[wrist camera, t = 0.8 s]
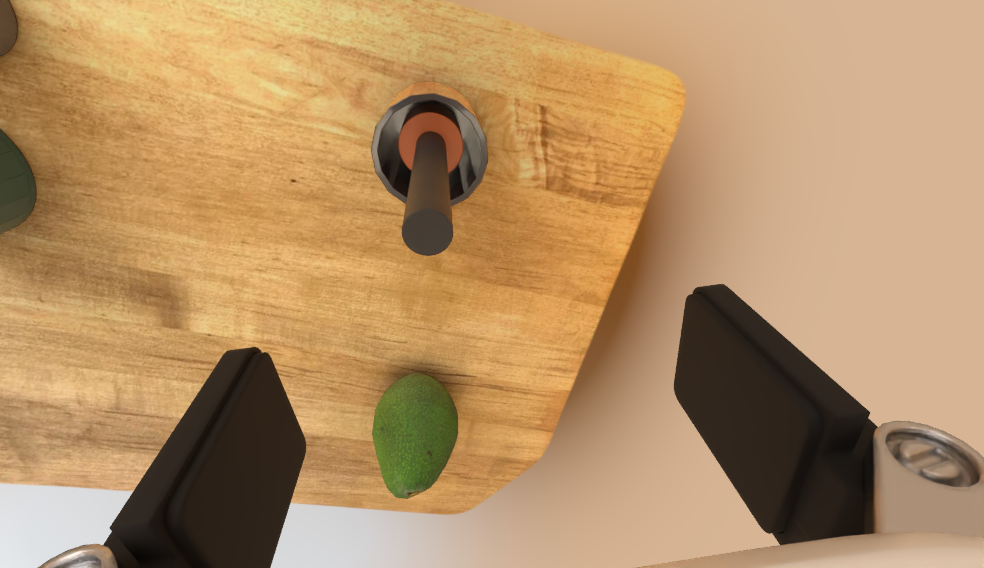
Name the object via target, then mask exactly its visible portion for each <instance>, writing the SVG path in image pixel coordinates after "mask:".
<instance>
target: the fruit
mask: <svg viewBox="0 0 984 568" xmlns="http://www.w3.org/2000/svg"><path fill="white" fill-rule="evenodd" d="M372 435H373V440H374V445H375V449H376V454H377V458H378V461H379V465H380V469H381V473H382V476H383V479H384V482H385V484H386V486H387V489H388V490H389V491H390V492H391V493H392V494H393V495H394V496H395V497H397V498H405V499H408V498H410V497H413V496H415V495H417V494H419V493H421V492H423V491H425V490H427V489H429V488H430V487H431V486H432V485H433V484H434V483H435V482H436V480H437V479H438V477H439V475H440V474H441V472H442V471H443V469H444V468H445V466H446V464H447V462H448V460H449V458H450V456H451V453H452V451H453V448H454V446H455V443H456V440H457V435H458V415H457V409H456V407H455V404H454V402H453V400H452V398H451V396H450V394H449V393H448V391H447V390H446V389H445V387H444V386H443V385H442V384H441V383H440V382H439V381H437V380H436V379H434V378H432V377H430V376H428V375H425V374H421V373H413V374H408V375H406V376H404V377H402V378H400V379H398V380H397V381H396V382H395V383H394V384H392V385H391V386H390V387H389V388H388V389H387V390H386V391H385V393H384V394H383V396H382V398H381V400H380V402H379V403H378V405H377V407H376V409H375V416H374V424H373V431H372Z"/></svg>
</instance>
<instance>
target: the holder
mask: <svg viewBox="0 0 984 568" xmlns="http://www.w3.org/2000/svg"><path fill="white" fill-rule="evenodd" d="M428 103H432V104H438V105H441V106H443V107H445V108H447V109H448V110H449V111H450V112H451V113H452V114H453V115H454V116H455V118H456V119H457V121H458V123H459V126H460V130H461V134H462V138H463V154H462V157H461V160H460V162H459V164H458V165H457V166H456V167H455V169H454V170H452V171H451V172H450V173H448V177H449V189H450V201H451V207H452V206H454V205H456V204H457V203H459V202H461V201H463V200H465V199H467V198H468V197H469V196H470V195H471V194H472V192H473V191H474V190H475V189H476V188H477V186H478V185H479V184H480V183H481V181H482V178H483V175H484V172H485V169H486V166H487V163H488V152H487V140H486V136H485V134H484V132H483V129H482V127H481V125H480V123H479V121H478V119H477V117H476V115H475V113H474V111H473V109H472V107H471V105H470V103H469V101H468V100H467V99H465V98H464V97H463V96H462V95H461V94H460V93H459V92H458V91H456V90H455V89H453V88H452V87H450V86H447V85H445V84H441V83H437V82H421V83H415V84H413V85H411V86H409V87H407V88H405V89H404V90H402V91H401V92H399V93H397V94H396V96H395V97H394V99H393V100H392V101H391V103H390V104H389V106H388V107H387V109H386V110H385V112H384V113H383V115H382V117H381V118H380V120H379V122H378V123H377V125H376V127H375V132H374V137H373V142H372V147H371V152H372V157H373V162H374V167H375V171H376V174H377V175H378V177H379V178H380V180H381V181H382V183H383V184H384V186H385V187H386V189H387V190H388V191H389V192H390V193H391V194H392V195H394V196H395V197H397V198H398V199H399V200H401V201H402V202H404V203H405V204H406V202H407V196H408V190H409V184H410V178H411V172H412V171H411V170H410V169H409V168H408V167H407V166H406V165H405V163H404V162H403V160H402V158H401V156H400V153H399V148H398V139H399V134H400V131H401V128H402V125H403V122H404V120H405V118H406V116H407V115H408V113H409V112H410V111H411V110H412V109H414V108H415V107H417V106H419V105H422V104H428Z"/></svg>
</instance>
